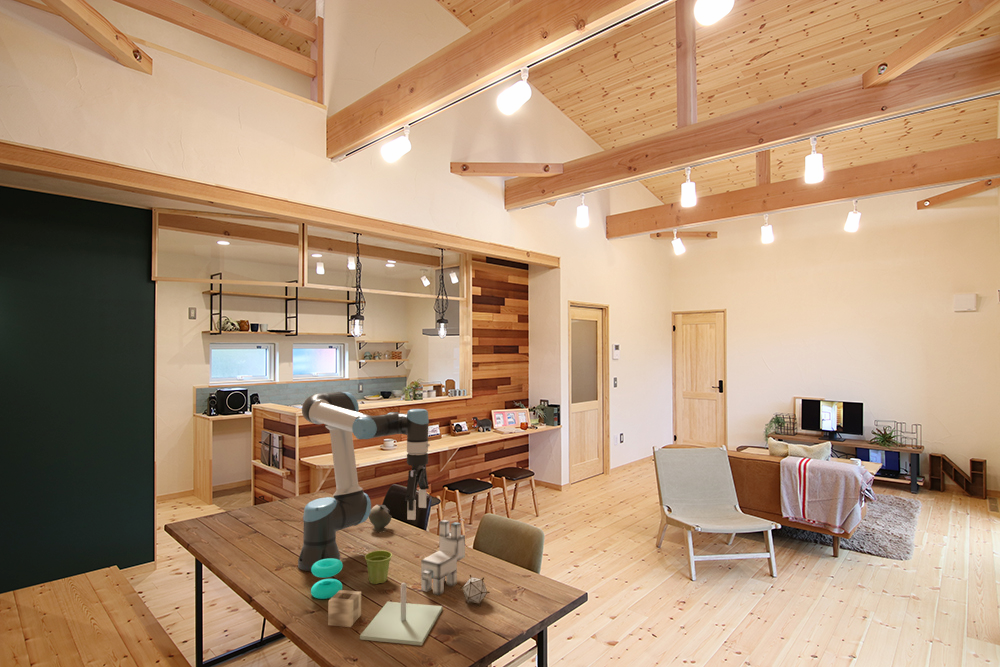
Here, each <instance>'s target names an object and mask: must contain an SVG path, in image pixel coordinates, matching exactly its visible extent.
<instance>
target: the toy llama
mask: <svg viewBox="0 0 1000 667" xmlns="http://www.w3.org/2000/svg"><path fill="white" fill-rule="evenodd" d="M465 557H466V535H463V534H462V523H461V522H456V521H454V522H452V523H450V520H446V519H443V520H440V521H439V550H438V551H435V552H434V553H432V554H429V555H428V556H426V557H424V558H423V559H421V565H420V566H421V570H420V571H421V572H420V574H421V576H420V578H421V579H420V582H421V583H420V584H421V585H420V586H421V588H420V590H421V591H423V592H426V593H427V592H429V591H431V590H432V594H433V595H437V596H441V595H443V594H444V593H445V592H444V583H445V582H446V586H449V587H451V588H452V587H454V586H456V585H457V584H458V582H457V578H458V576H457V574H458V571H457V570H458V568H457V567H458V565H457V564H458V562H459V561H460V560H462V559H464V558H465Z"/></svg>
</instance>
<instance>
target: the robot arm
mask: <svg viewBox="0 0 1000 667" xmlns="http://www.w3.org/2000/svg"><path fill="white" fill-rule="evenodd" d="M359 408H360V406H359V403H358V400H357V398H356V396H354V395H353V393H351V392H348V391H335V392H334V391H333V392H324V393H318V392H317V393H314V394H312V395H310V396H308V397H307V398H306V399H305V400H304V402H303V404H302V407H301V414H302V417H303V418H304V419H305V420H306V421H307V422H309V423H312V424H315V425H322V424H324V426H325V428H326V429H327V430H329V435H330V443H331V444H330V445H331V453H332V461H333V470H334V478H335V479H334V480H335V486H336V490H335V492H334V493H333V497H330V496H326V497H320V498H316V499H313V500H311V501H309V502H308V503H306V504H305V507H304V509H303V517H302V518H303V543H302V544H303V545H302V548H301V550H300V553H299V556H298V560H297V567H298V569H299V570H301V571H304V572H311V568H312V565H313V564H314V563H316V562H317V561H319V560H323V559H328V558H334V559H338V560H340V561H341V553H340V551H339V547H338V543H337V540H336V535H337V532H338V531H341V530H344V529H348V528H350V527H353V526H358V525H360V524H362V523H364V522H366V521H367V520H368V519H369V515H370V512H371V509H372V501H371V498H370V497H369V495H368V494H367V493H365V492H364V488H363V487H361V486H360V485H359V479H358V477H359V476H358V471H357V464H356V454H355V448H354V447H355V446H354V439H353V438H354V437H353V435H354V436H355V438H356V439H357V440H370V439H374V438H381V437H387V436H395V435H406V436H407V437H406V453H407V454H406V464H407V465H408V466H411V469H410V470H408V476H407V484H406V485H407V486H406V492H405V497H404V501H405V502H406V501H407V509H406V510H407V512H406V514H407V515H406V516H407V520H410V521H411V520H412V521H415V520H416V517H417V515H416V513H417V511H416V510H417V508H416V507H417V504H416V503H417V500H416V495H417V491H418V508H421V509H427V490H429V481H428V473H427V465H428V463H429V454H428V452H429V447H430V443H429V424H430V421H429V411H428V410H427V409H425V408H411V409H408V410H407V412H406V413H403V412H399V411H398V412H397V411H395V412H388V413H387V414H379V415H370V414H366V413H362V412H359Z"/></svg>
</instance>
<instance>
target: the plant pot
mask: <svg viewBox="0 0 1000 667" xmlns="http://www.w3.org/2000/svg"><path fill="white" fill-rule="evenodd" d="M392 557H393V554H392V552H390V551H389V550H383V549H382V550H374V551H370V552H368V553H366V554H365V555H364V559H365V561H366V565H367V566H366V567H367V574H368V581H369V583H370V584H373V585H378V584H384V583H386V581H387V580H388V576H389V575H388V574H389V569H390V567H389V566H390V562H391V559H392Z"/></svg>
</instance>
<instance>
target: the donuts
mask: <svg viewBox="0 0 1000 667" xmlns="http://www.w3.org/2000/svg"><path fill="white" fill-rule="evenodd" d="M343 567H344V564H343V562H342V560H341V559H340V560H338V559H334V558H328V559H323V560H319V561H317V562H316V563H314V564H313V565H312V568H311V571H310V572H311V574H312V575H313V576H314V577H317V578H324V579H320V580H318V581H317V582H315V583H314V584H312V587H311V589H310V594H311V596H312V597H314V598H315V599H320V600H325V599H331V598H332V597H333V596H334V595H335V594H336V593H337V592H338V591H339V590H343V586H344V585H343V584H342V582H341V581H340V580H338V579H337V578H331V577H334V576H336V575H338V574H339V573H340V572H341V571H342V570H343Z"/></svg>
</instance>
